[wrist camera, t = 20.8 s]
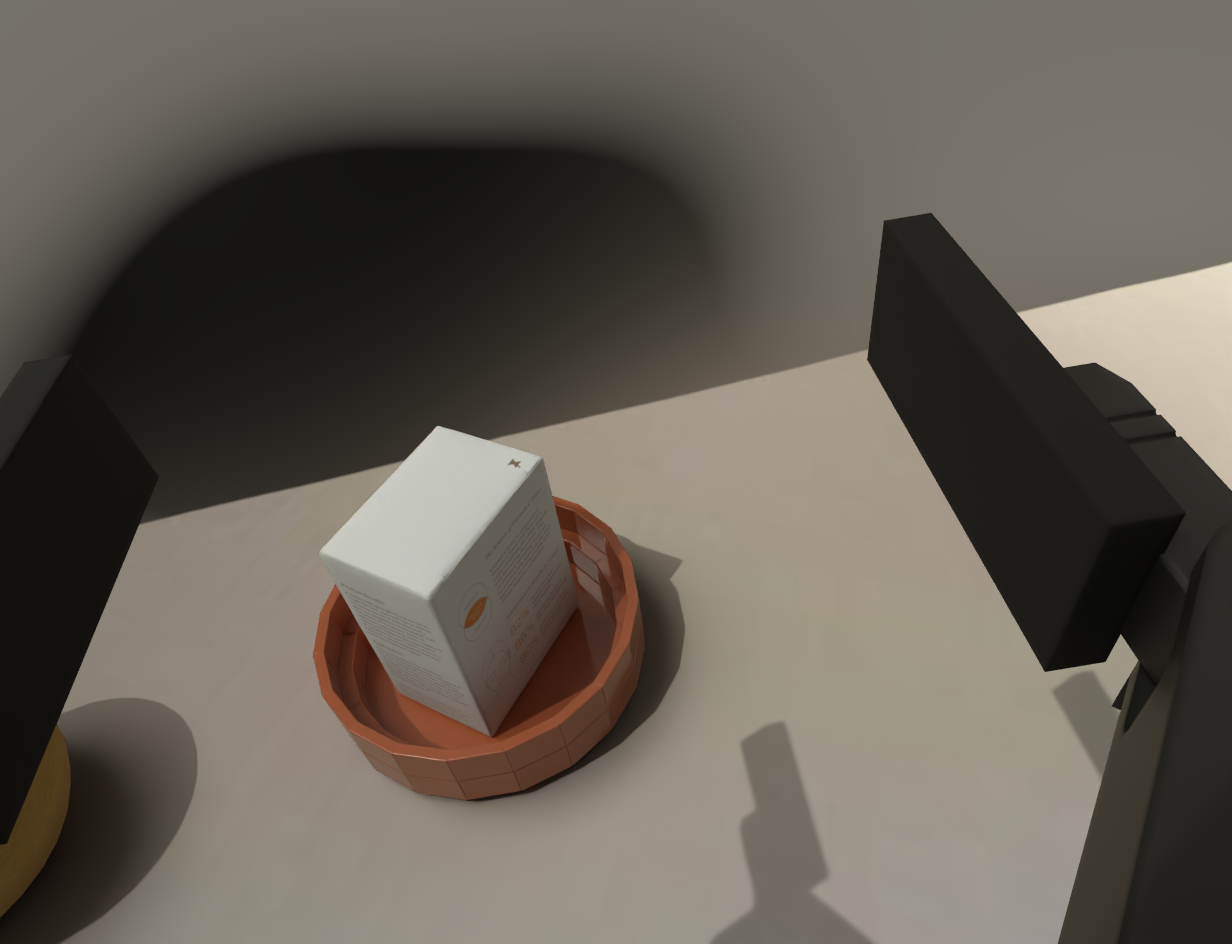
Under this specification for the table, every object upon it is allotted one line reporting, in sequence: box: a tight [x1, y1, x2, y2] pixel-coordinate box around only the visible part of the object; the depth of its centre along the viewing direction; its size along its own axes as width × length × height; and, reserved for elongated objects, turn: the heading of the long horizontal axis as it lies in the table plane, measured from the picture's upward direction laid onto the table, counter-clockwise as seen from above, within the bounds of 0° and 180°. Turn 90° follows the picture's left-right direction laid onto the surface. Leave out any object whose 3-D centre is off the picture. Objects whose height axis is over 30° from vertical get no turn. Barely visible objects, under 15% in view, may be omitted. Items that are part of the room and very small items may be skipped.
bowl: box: [313, 496, 645, 800], centre depth 39 cm, size 15×15×4 cm
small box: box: [319, 426, 578, 737], centre depth 36 cm, size 8×6×10 cm
